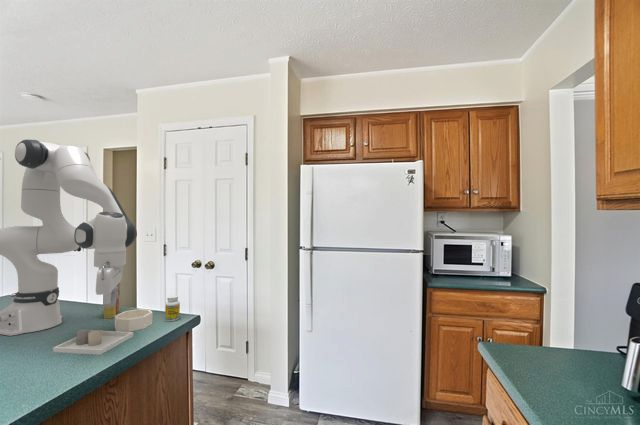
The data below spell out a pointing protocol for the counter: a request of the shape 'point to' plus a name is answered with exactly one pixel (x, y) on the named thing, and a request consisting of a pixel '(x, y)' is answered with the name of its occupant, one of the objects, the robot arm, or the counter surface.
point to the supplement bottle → (172, 308)
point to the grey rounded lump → (112, 300)
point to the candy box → (114, 310)
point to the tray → (108, 342)
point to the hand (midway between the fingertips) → (109, 301)
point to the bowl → (133, 320)
